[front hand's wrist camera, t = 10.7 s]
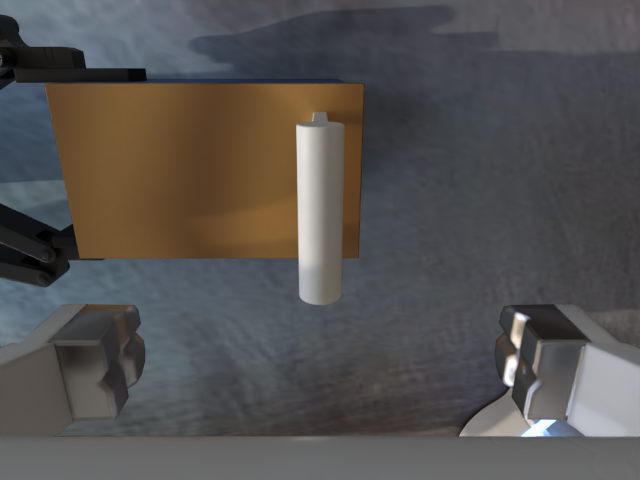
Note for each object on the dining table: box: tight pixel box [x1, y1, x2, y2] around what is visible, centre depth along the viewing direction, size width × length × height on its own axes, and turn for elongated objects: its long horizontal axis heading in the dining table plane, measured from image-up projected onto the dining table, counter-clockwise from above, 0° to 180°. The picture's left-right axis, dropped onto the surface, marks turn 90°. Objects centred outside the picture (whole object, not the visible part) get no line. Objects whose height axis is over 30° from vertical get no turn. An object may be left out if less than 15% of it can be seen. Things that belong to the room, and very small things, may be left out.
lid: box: [44, 83, 364, 305], centre depth 21 cm, size 16×10×9 cm, turn 90°
